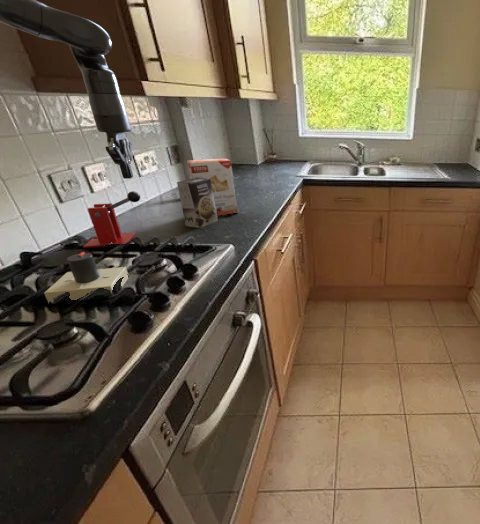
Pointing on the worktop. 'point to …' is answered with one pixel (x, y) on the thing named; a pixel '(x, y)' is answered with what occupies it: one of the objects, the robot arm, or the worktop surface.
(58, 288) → the panel
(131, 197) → the lever
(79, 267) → the knob
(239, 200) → the worktop surface
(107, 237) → the red lever stand
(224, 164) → the cracker box
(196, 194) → the coffee box
